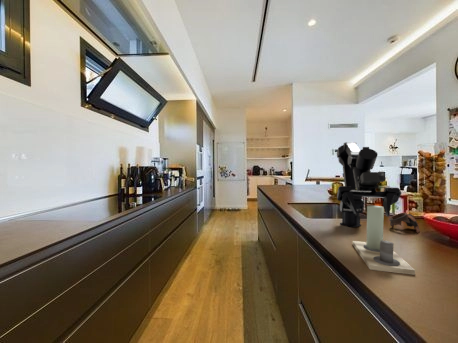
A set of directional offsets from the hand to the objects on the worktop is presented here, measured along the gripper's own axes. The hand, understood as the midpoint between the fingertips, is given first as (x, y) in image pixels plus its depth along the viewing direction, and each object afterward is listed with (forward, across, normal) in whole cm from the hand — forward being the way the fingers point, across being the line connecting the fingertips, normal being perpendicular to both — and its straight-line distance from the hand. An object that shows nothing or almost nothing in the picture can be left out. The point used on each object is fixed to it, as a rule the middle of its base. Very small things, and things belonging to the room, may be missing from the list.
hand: (372, 214), depth 75 cm
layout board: (+13, 0, +3) cm, 13 cm away
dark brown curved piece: (-13, +21, +30) cm, 39 cm away
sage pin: (+9, 0, +5) cm, 10 cm away
